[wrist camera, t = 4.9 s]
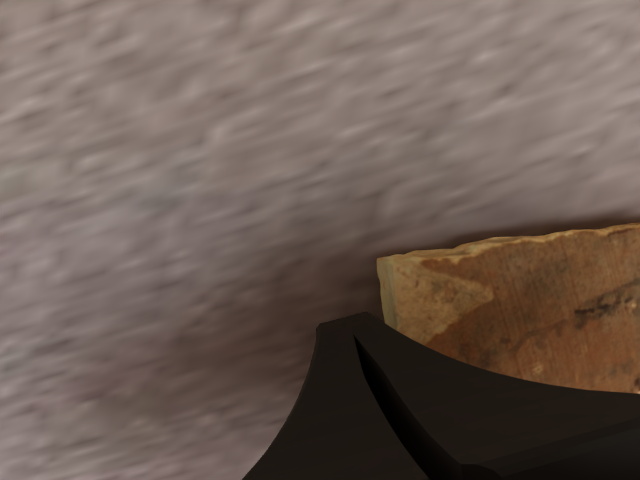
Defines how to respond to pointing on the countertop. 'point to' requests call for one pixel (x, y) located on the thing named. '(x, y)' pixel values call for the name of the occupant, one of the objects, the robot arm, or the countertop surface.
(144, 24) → the countertop surface
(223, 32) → the countertop surface
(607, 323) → the shard
